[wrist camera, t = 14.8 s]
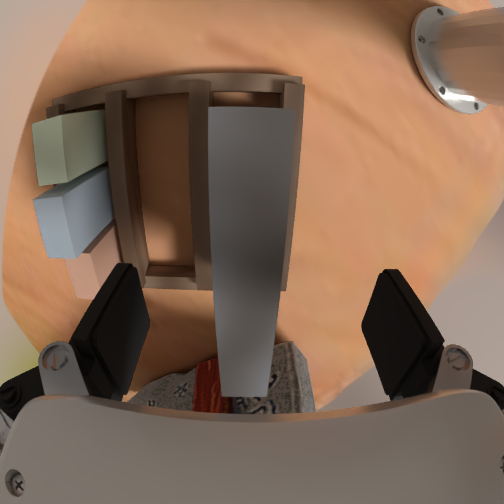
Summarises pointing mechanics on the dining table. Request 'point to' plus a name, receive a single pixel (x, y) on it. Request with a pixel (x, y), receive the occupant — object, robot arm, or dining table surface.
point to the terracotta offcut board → (95, 262)
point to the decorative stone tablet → (211, 400)
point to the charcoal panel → (248, 237)
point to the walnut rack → (126, 170)
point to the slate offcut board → (75, 213)
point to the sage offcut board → (69, 146)
